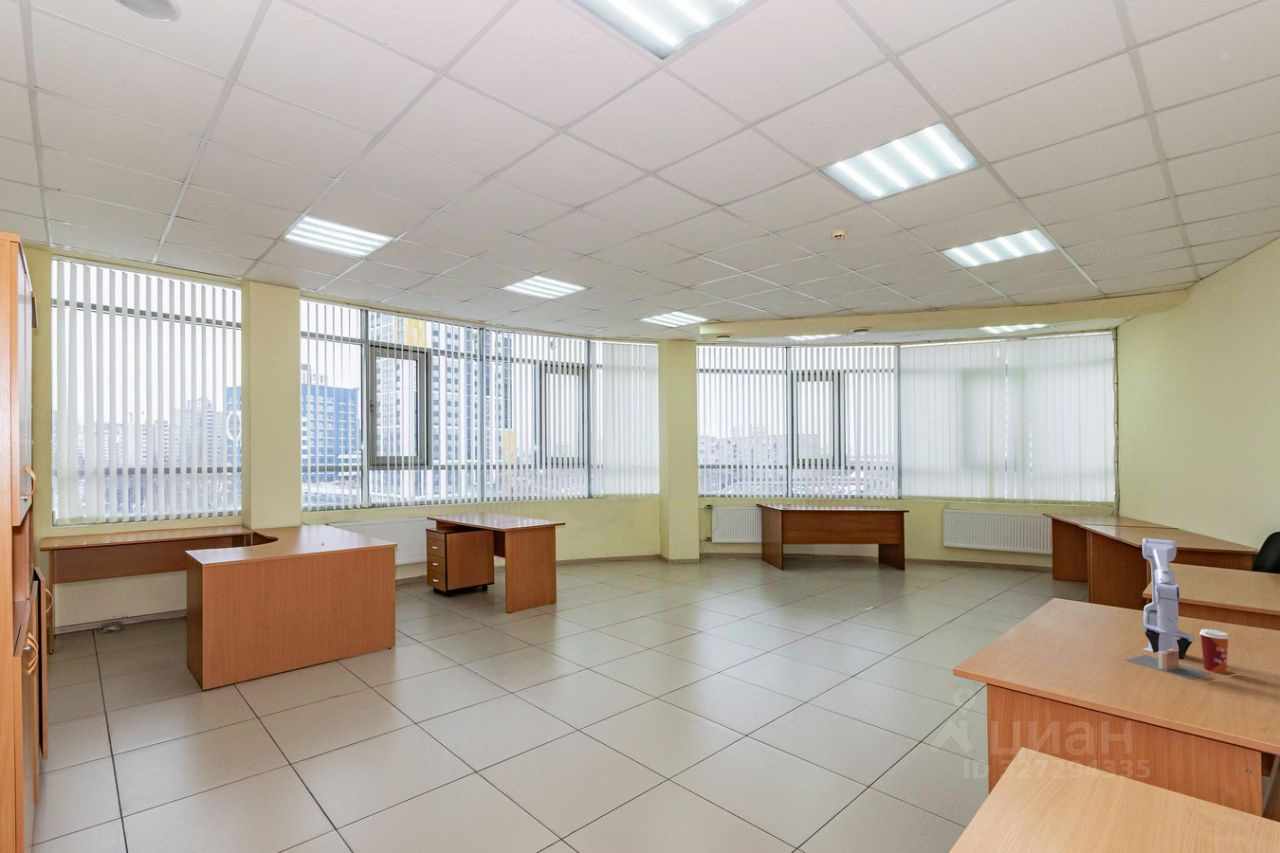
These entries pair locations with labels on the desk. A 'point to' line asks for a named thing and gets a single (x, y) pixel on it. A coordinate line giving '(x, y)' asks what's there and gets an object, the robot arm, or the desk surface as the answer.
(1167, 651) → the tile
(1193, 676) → the mat
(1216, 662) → the paper cup
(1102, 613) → the desk surface
